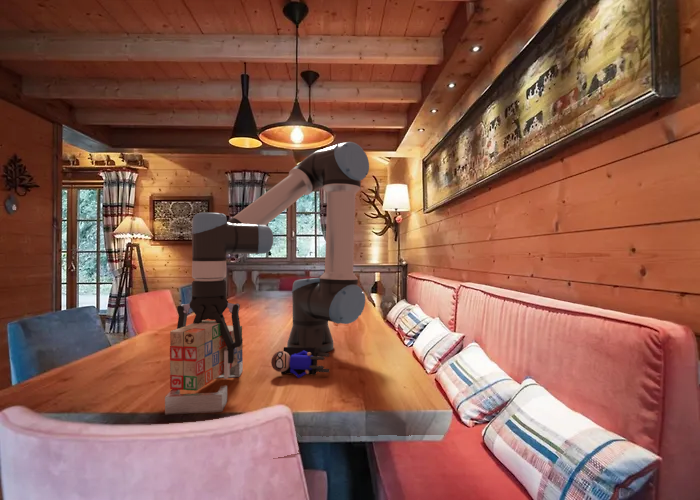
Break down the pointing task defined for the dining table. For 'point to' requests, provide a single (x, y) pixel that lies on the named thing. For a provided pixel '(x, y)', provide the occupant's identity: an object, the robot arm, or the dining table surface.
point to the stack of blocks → (198, 355)
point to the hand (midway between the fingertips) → (209, 377)
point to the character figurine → (298, 361)
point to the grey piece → (235, 370)
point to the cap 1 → (195, 402)
